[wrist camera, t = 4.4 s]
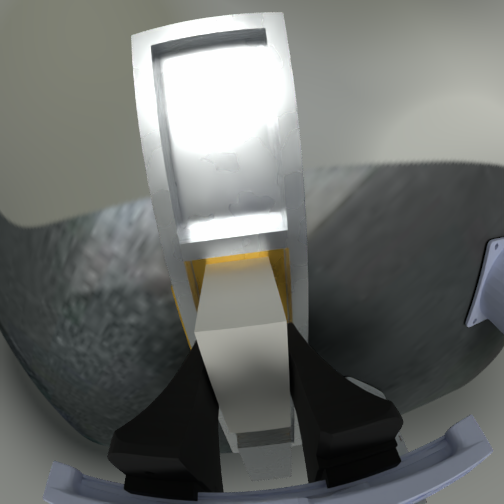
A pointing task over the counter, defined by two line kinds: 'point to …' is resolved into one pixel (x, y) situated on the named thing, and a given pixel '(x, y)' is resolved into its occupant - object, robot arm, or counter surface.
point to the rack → (226, 173)
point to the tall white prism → (245, 344)
